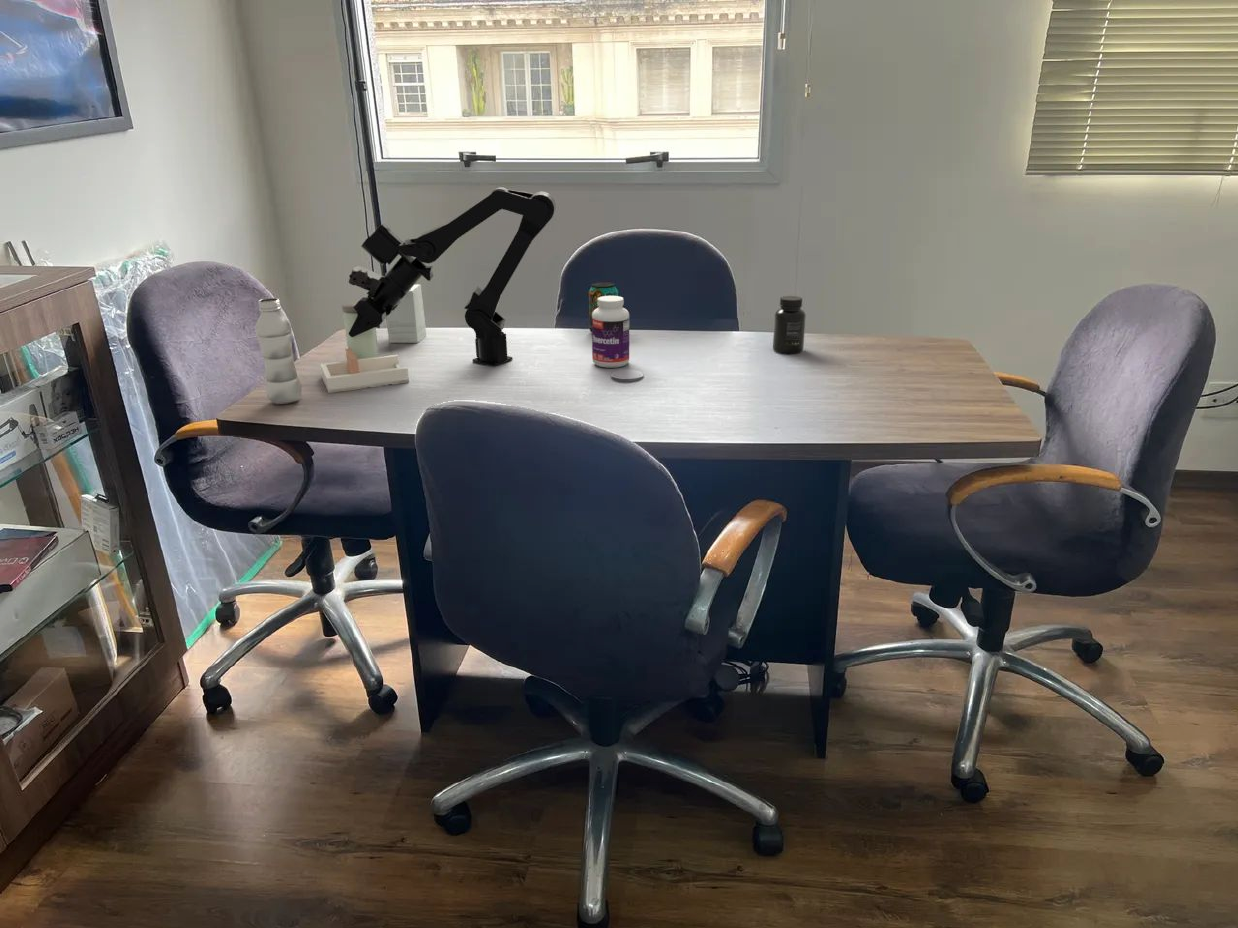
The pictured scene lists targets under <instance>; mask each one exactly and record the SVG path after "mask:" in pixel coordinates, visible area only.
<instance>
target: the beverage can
mask: <svg viewBox="0 0 1238 928" xmlns="http://www.w3.org/2000/svg"><path fill="white" fill-rule="evenodd" d="M590 286H591V287H590V289H589V290H588V309H589V331H590V333H592V313H593V311H594V310H595V309H597V308H599V306H598V304H597V303H598V298H599V297H602V296H619V290H618V288H617V287H616V283H614V282H611V281H598V282H597V281H596V282H593V283H591V285H590Z"/></svg>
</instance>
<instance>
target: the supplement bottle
mask: <svg viewBox="0 0 1238 928" xmlns="http://www.w3.org/2000/svg"><path fill="white" fill-rule="evenodd" d="M779 307H780V308H779V309H777V310H776V311H775V313H774V321H773V338H772V339H773V340H772V349H773V351H774V352H775V353H778V354H783V355H796V354H800V353H802V352H803V350H804V345H805V332H806V317H807V315H806V312H805V310H804V309H802V307H803V297H800V296H795V295H785V296H781V297H780V299H779Z"/></svg>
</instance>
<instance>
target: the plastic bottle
mask: <svg viewBox="0 0 1238 928" xmlns="http://www.w3.org/2000/svg"><path fill="white" fill-rule="evenodd" d="M257 302H258V307H259V308H258V311H259V312H260V315H259V317H258V319H257V321H256V323H255V326H254V331H255V335H256V338H257V342H258V345H259V348H260V351H261V354H262V357H263V363H264V372H265V393H266V397H267V399H268V400H269V401H270V402H271V403H272V404H277V405H284V404H285V405H286V404H291V403H294V402H297V401H299V400H300V399H301V397H302V391H303V390H302V384H301V381H300V378H299V376H298V372H297V368H296V365H295V360H294V355H293V354H294V353H293V345H292V344H293V343H292V341H293V340H292V338H293V336H292V335H293V334H292V325H291V323H290V321H289V320H288V319H287V317H286V316H285V315H284V314H283V313H282V312H281V310H282V306H281V303H280V298H278V297H266V298H262V299H259V300H258V301H257Z"/></svg>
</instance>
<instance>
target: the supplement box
mask: <svg viewBox="0 0 1238 928" xmlns="http://www.w3.org/2000/svg"><path fill="white" fill-rule="evenodd" d="M422 293H423V292H422V284H415V285H414V286H413V287H412V288H411V289H410V290H409V292H408V293H407V294H406V295H405V296H404V297H403V298H402V299H401V300H400V301H401V303H400V304H399V305H398V306H397V307H396V308H395V309H394V310H391V311H392V312H391V313H390V314H389V315H387V316H386V319H385V320H386V328H387V333H388V334H387V335H388V336H387V337H388V341H389V343H390V344H391V343H394V344H395V343H397V344H398V343H400V344H403V343H404V344H405V343H408V344H412V343H413V344H415V343H416V344H417V343H420V342H421V341H422V340H423V339H424V338H426V337H427V329H426V328H427V327H426V320H425V312H424V303H423V302H424V301H423V294H422Z"/></svg>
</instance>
